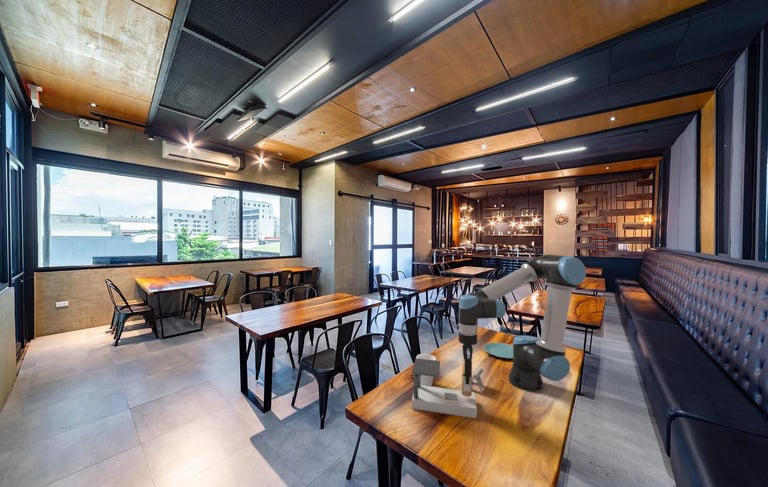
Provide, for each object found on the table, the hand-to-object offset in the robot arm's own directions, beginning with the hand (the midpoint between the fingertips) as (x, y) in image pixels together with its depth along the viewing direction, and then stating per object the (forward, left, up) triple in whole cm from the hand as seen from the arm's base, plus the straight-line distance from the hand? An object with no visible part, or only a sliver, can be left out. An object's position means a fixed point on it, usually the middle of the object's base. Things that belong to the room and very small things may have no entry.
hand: (466, 387), depth 118 cm
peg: (0, 0, -3) cm, 3 cm away
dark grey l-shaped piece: (+17, 0, -5) cm, 18 cm away
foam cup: (+18, -15, -9) cm, 25 cm away
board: (+9, 0, -9) cm, 13 cm away
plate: (-25, -63, -9) cm, 68 cm away
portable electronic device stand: (-5, -18, -9) cm, 21 cm away
